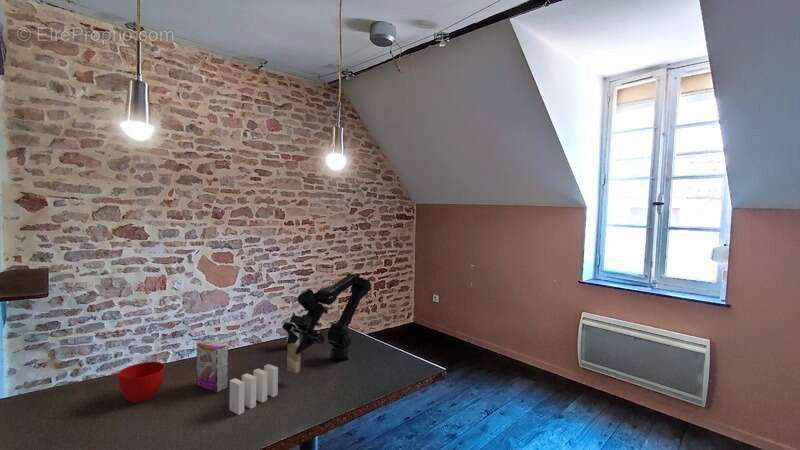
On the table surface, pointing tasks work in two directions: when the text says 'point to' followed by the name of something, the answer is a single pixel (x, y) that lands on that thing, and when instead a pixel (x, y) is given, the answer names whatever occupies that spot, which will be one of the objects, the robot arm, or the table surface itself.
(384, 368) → the table surface
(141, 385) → the red bowl
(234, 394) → the domino
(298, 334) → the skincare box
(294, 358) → the domino
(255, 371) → the domino
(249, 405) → the domino
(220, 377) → the candy bar box
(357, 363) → the table surface
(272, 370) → the domino
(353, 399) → the table surface
